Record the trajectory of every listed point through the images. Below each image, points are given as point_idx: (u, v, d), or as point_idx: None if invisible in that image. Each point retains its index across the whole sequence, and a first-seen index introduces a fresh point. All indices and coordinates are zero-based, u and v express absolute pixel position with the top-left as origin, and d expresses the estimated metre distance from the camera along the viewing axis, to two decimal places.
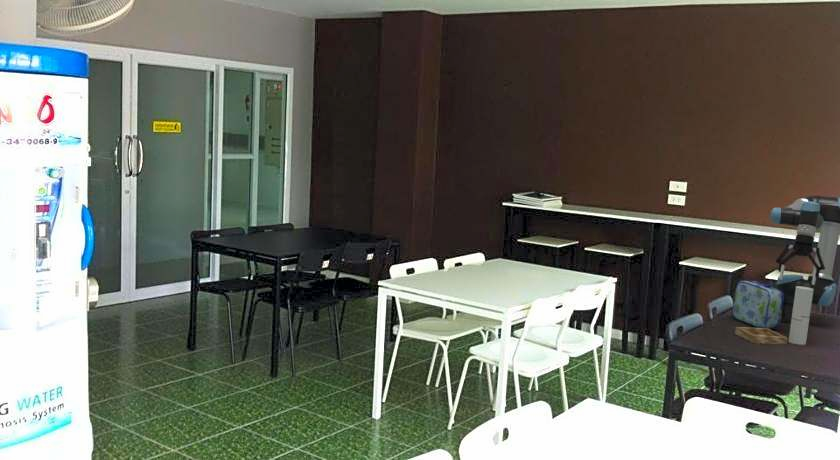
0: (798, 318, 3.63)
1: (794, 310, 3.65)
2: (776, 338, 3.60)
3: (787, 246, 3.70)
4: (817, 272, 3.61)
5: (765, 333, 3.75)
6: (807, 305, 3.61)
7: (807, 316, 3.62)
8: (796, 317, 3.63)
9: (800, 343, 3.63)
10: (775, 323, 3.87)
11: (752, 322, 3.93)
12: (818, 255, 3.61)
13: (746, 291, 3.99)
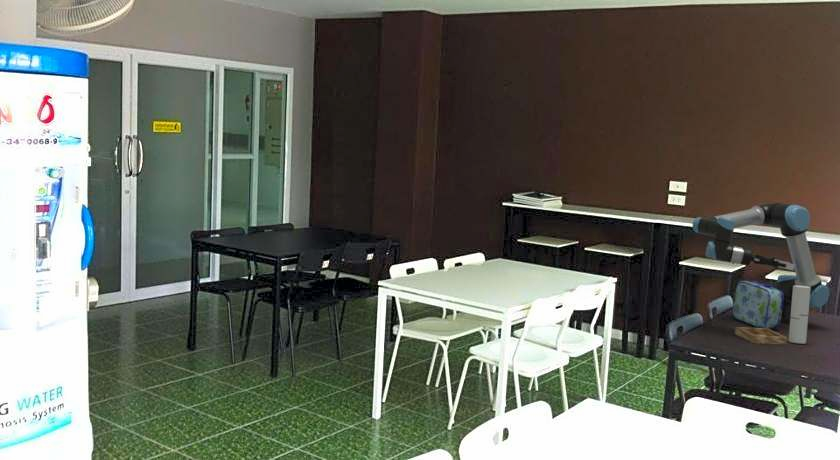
0: (797, 317, 3.64)
1: (792, 309, 3.66)
2: (776, 338, 3.60)
3: None
4: (780, 266, 3.61)
5: (765, 333, 3.75)
6: (805, 303, 3.63)
7: (806, 314, 3.63)
8: (795, 316, 3.64)
9: (800, 342, 3.63)
10: (775, 323, 3.87)
11: (752, 322, 3.93)
12: (762, 263, 3.64)
13: (746, 291, 3.99)
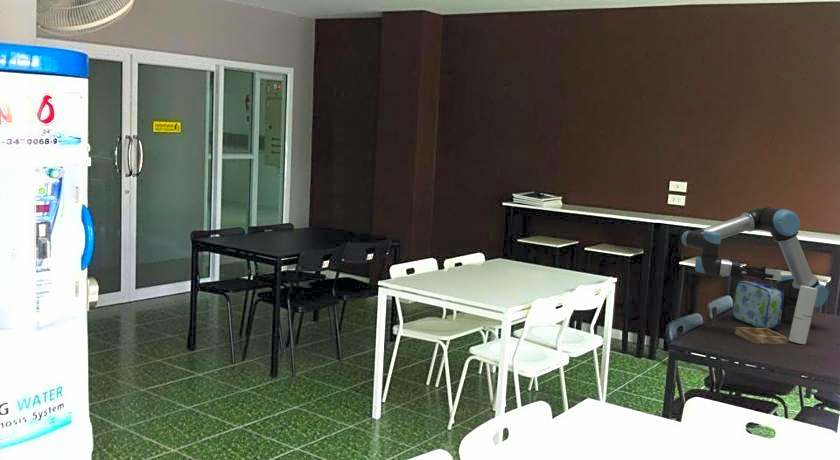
0: (800, 317, 3.63)
1: (797, 309, 3.65)
2: (776, 338, 3.60)
3: None
4: (768, 277, 3.62)
5: (765, 333, 3.75)
6: (811, 305, 3.62)
7: (809, 315, 3.63)
8: (798, 316, 3.64)
9: (800, 342, 3.63)
10: (775, 323, 3.87)
11: (752, 322, 3.93)
12: (749, 275, 3.65)
13: (746, 291, 3.99)
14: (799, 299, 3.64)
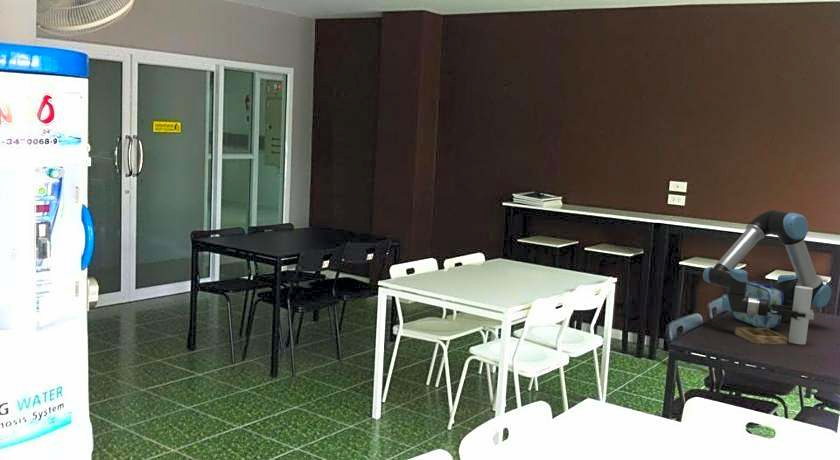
0: (797, 318, 3.63)
1: (793, 310, 3.65)
2: (776, 338, 3.60)
3: None
4: (800, 316, 3.61)
5: (765, 333, 3.75)
6: (807, 305, 3.62)
7: None
8: None
9: (800, 343, 3.64)
10: (775, 323, 3.87)
11: (752, 322, 3.93)
12: None
13: (746, 291, 3.99)
14: (795, 300, 3.64)
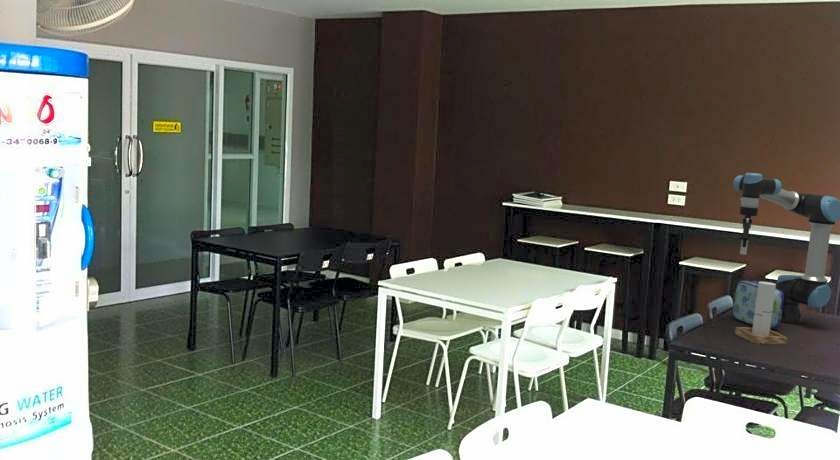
0: (760, 313, 3.64)
1: (756, 305, 3.66)
2: (776, 338, 3.60)
3: None
4: (742, 242, 3.70)
5: None
6: (769, 300, 3.62)
7: (769, 311, 3.63)
8: (758, 312, 3.65)
9: None
10: (775, 323, 3.87)
11: (752, 322, 3.93)
12: (743, 225, 3.70)
13: (746, 291, 3.99)
14: (758, 295, 3.65)
